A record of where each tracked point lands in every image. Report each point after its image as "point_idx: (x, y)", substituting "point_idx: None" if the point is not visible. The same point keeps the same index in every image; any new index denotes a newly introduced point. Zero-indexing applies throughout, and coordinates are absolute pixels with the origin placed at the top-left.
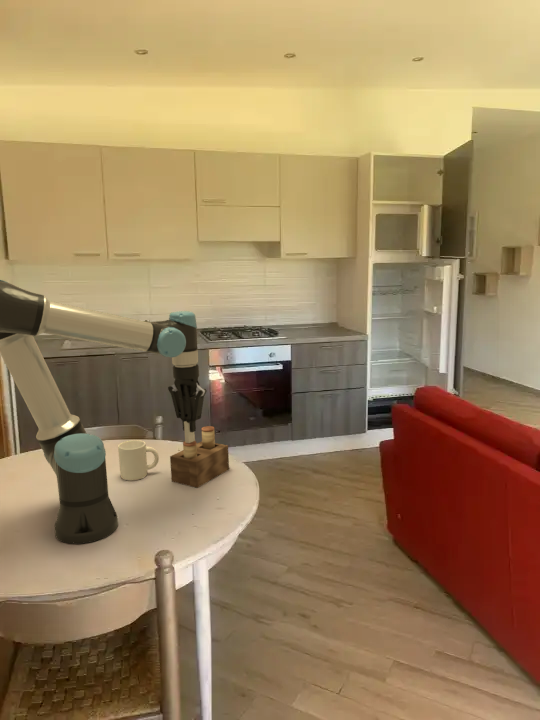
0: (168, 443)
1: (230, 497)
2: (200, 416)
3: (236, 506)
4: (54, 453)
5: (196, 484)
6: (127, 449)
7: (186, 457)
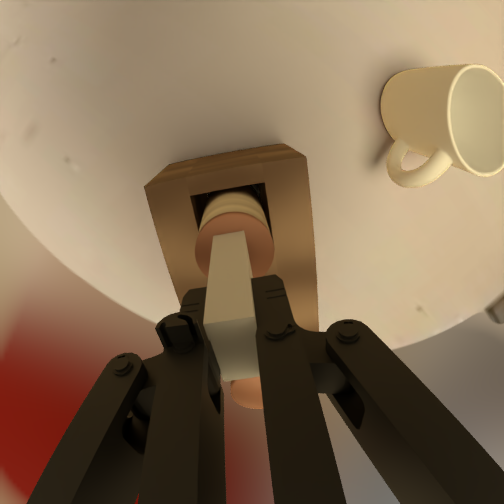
0: (458, 314)
1: (56, 191)
2: (130, 414)
3: (16, 170)
4: None
5: (169, 165)
6: (465, 67)
7: (225, 194)
